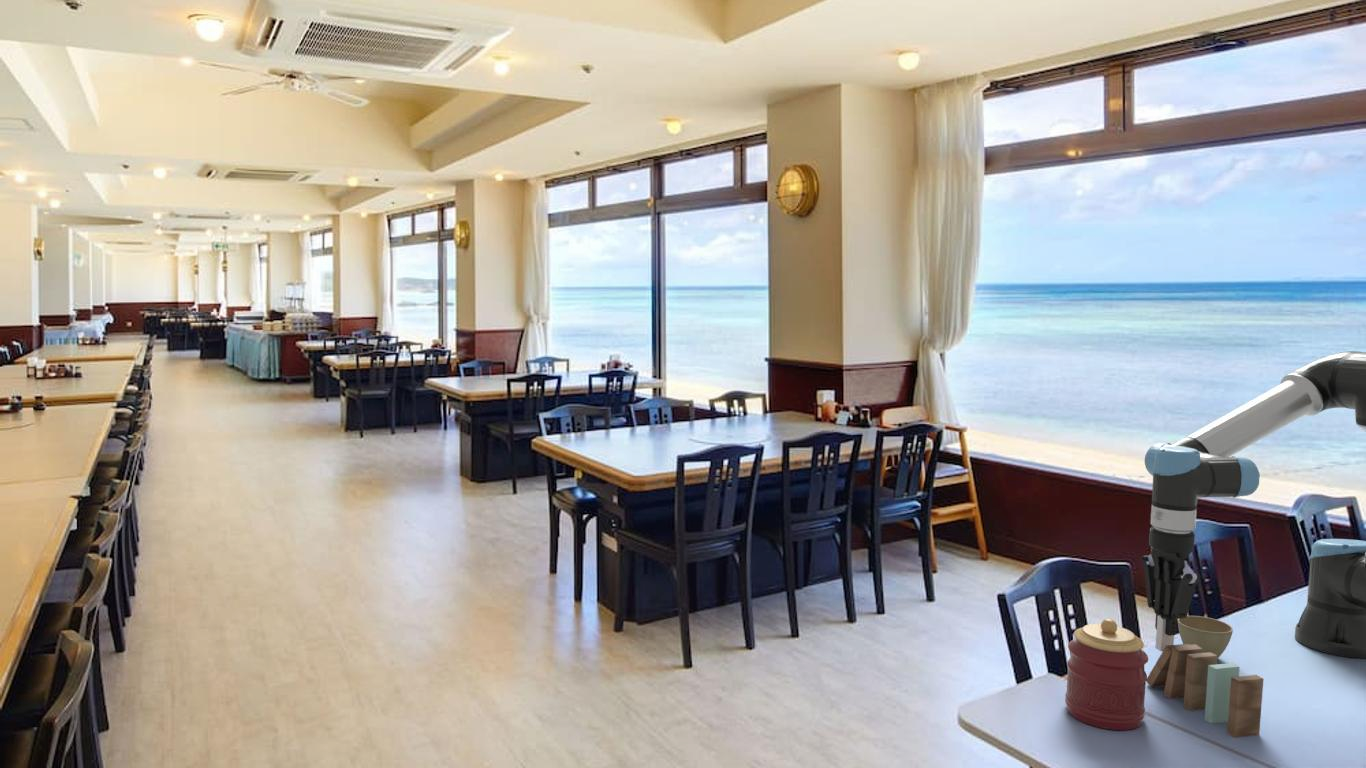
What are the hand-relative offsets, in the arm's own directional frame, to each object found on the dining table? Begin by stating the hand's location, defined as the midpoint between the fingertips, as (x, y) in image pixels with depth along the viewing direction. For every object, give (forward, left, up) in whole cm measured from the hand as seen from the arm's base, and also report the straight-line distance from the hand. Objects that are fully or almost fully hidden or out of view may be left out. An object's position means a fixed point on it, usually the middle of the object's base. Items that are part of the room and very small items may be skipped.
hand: (1164, 649), depth 174 cm
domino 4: (0, +14, -8) cm, 16 cm away
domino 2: (0, +4, -7) cm, 8 cm away
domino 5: (0, +19, -8) cm, 21 cm away
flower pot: (-19, -11, -8) cm, 23 cm away
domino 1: (0, -1, -7) cm, 7 cm away
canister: (+19, +8, -8) cm, 22 cm away
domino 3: (0, +9, -8) cm, 12 cm away
